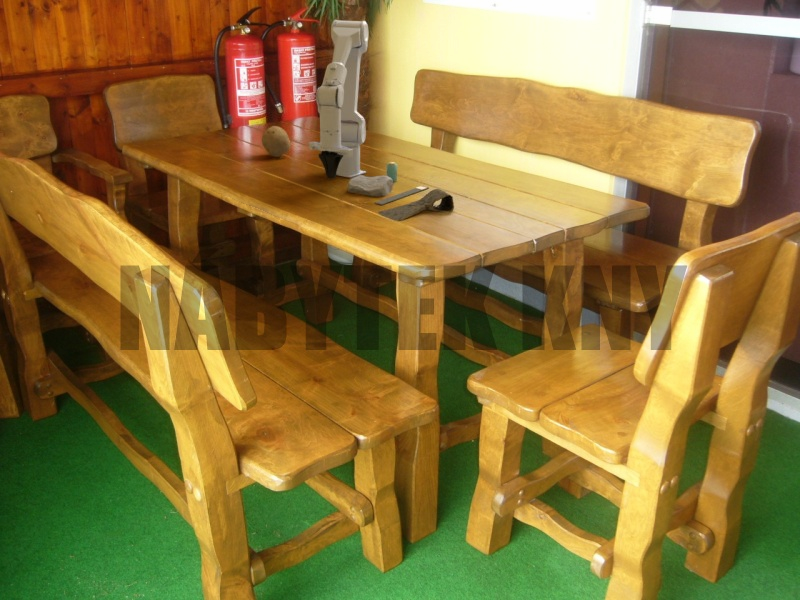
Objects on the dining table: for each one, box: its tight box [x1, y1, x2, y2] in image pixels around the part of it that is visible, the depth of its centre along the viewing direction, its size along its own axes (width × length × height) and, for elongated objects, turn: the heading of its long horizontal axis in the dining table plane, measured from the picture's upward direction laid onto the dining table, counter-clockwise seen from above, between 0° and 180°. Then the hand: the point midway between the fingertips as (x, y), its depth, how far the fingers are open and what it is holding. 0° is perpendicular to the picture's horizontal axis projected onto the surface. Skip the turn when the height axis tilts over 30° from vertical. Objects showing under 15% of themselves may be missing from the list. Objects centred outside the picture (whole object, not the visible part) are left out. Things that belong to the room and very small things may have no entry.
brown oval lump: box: [261, 125, 291, 158], centre depth 266 cm, size 9×9×10 cm
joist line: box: [374, 185, 430, 206], centre depth 228 cm, size 2×22×1 cm, turn 144°
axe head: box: [377, 188, 455, 222], centre depth 213 cm, size 21×5×10 cm
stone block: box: [347, 174, 394, 197], centre depth 231 cm, size 12×5×10 cm
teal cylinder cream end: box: [386, 161, 398, 183], centre depth 242 cm, size 3×3×5 cm
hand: (331, 178), depth 232 cm, fingers closed
